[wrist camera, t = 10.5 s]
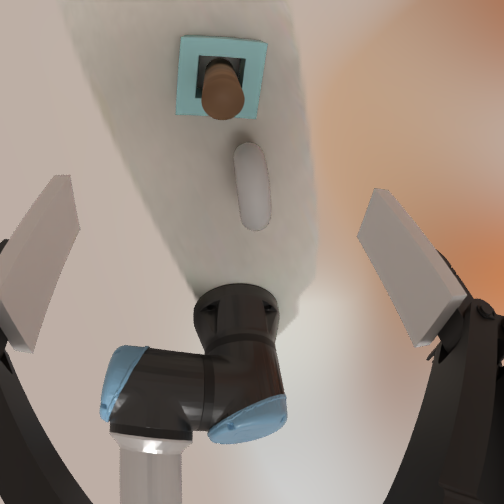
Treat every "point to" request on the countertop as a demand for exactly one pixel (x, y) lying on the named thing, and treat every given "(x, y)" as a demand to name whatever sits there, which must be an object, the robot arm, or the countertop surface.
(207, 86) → the thick dowel
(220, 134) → the countertop surface
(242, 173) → the grey rounded flat slab
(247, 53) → the teal socket block
